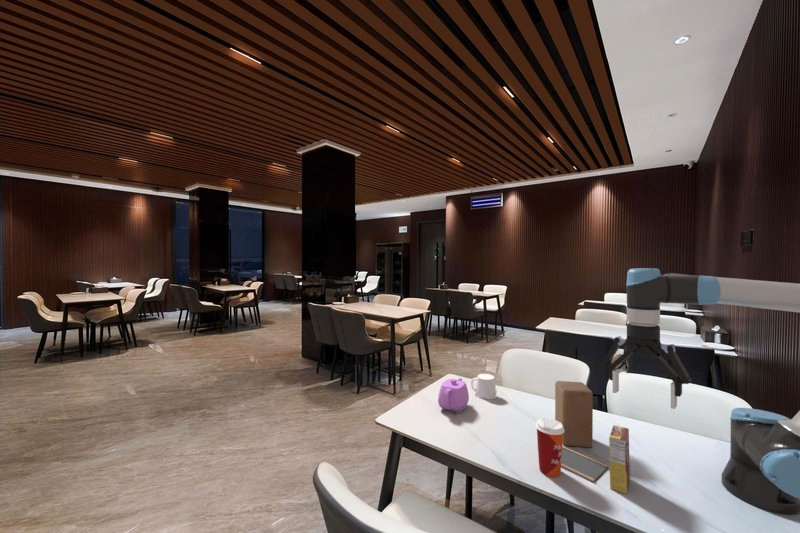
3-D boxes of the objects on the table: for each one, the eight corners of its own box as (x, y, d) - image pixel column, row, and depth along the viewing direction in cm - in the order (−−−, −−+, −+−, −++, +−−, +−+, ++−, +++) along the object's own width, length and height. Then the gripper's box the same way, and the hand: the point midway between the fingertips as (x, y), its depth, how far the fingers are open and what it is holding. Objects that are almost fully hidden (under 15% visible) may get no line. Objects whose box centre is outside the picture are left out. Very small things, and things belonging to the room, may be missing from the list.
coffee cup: (562, 483, 98) (562, 432, 98) (533, 473, 102) (533, 425, 102) (565, 467, 105) (566, 420, 105) (538, 459, 109) (538, 414, 109)
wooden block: (593, 448, 115) (593, 391, 115) (563, 446, 117) (563, 390, 117) (582, 433, 125) (582, 381, 125) (554, 431, 127) (554, 379, 126)
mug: (497, 375, 162) (493, 380, 155) (497, 394, 162) (493, 400, 155) (473, 371, 168) (468, 376, 161) (473, 390, 168) (468, 395, 161)
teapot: (459, 420, 137) (459, 389, 136) (432, 413, 143) (431, 384, 143) (474, 401, 154) (474, 374, 154) (448, 396, 160) (448, 370, 160)
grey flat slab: (608, 467, 105) (608, 465, 105) (593, 482, 98) (593, 480, 98) (557, 445, 117) (557, 443, 117) (541, 457, 111) (541, 455, 111)
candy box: (613, 473, 102) (613, 424, 102) (630, 478, 100) (630, 428, 99) (608, 488, 96) (608, 436, 95) (626, 495, 93) (626, 441, 92)
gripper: (705, 328, 85) (705, 410, 86) (599, 316, 105) (599, 383, 105) (699, 332, 81) (699, 419, 81) (589, 319, 100) (589, 389, 101)
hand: (643, 399), depth 93 cm, fingers open, 13 cm apart
